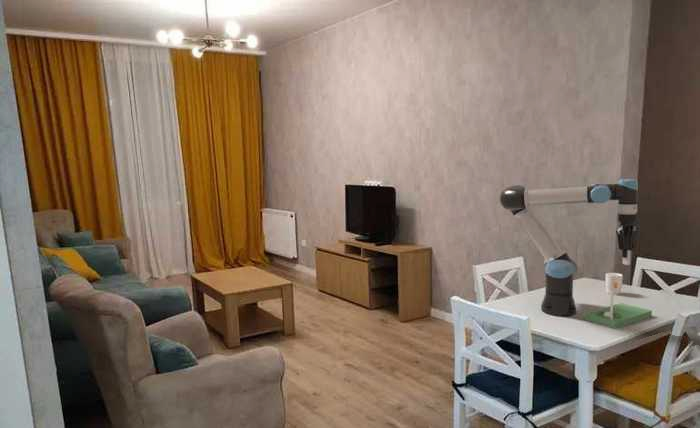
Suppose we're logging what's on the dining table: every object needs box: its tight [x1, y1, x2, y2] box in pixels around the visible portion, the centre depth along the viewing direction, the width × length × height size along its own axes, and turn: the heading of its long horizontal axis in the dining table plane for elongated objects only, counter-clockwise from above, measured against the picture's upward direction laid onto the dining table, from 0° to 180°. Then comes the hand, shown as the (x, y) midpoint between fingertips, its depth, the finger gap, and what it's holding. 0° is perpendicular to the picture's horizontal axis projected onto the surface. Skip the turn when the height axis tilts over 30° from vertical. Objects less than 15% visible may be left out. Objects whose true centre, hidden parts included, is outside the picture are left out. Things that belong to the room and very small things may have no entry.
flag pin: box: [609, 282, 617, 321], centre depth 200 cm, size 4×1×16 cm, turn 120°
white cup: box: [605, 272, 624, 296], centre depth 248 cm, size 8×8×10 cm
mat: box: [583, 302, 653, 329], centre depth 210 cm, size 28×14×2 cm, turn 120°
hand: (626, 264), depth 216 cm, fingers closed
